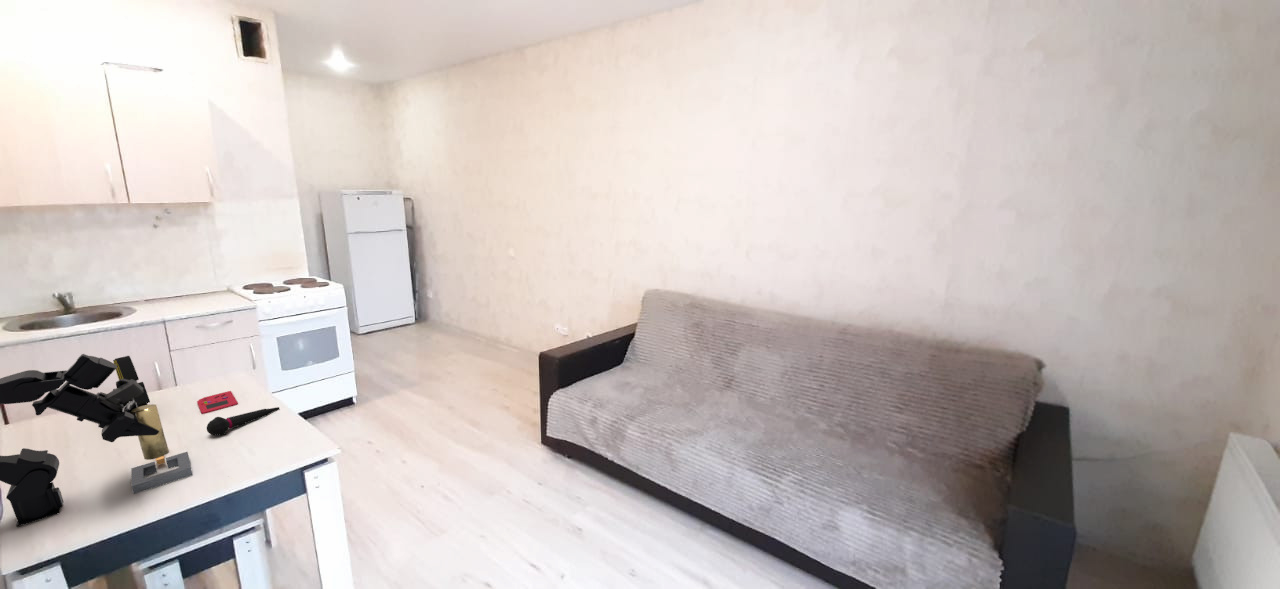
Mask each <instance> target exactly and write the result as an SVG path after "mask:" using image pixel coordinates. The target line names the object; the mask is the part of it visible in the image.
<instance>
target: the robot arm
mask: <svg viewBox="0 0 1280 589" xmlns="http://www.w3.org/2000/svg"><path fill="white" fill-rule="evenodd" d="M116 368H117V366H116V365H115V364H114V362H113V361H112V362H111V361H110V360H107V359H105V358H103V357H97V356H93V355H87V354H85V353H81V354H80V355H79V357H78V358H77V359H76V361H75V362H74V363H73V364H72V365H71V366H70V367H69V368H68V369H67V370H57V371H46V372H42V371H40V370H38V369H36V370H35V369H30V370H29V369H28V370H24V371H21V372H17V373H13V374H11V375H6V376H4V377H3V376H2V377H0V405H12V404H21V403H22V404H24V403H31V402H32V404H31V406H32V407H33V409H34V411H35V415H36V416H40V415H42V414H43V413H44V412H45V411H46V409H50V410H51V409H52V410H55V411H57V412H61V413H63V414H67V415H70V416H73V417H75V418H76V421H79V422H83V421H85V420H86V421H87V422H90V423H91V422H92V423H94V424H96V425H97V424H98V425H97V426H98V428H100V429H101V438H102V440H103V441H107V442H110V443H114V442H115V441H116V440H117V439H118V438H125V437H138V436H146V435H157V434H158V433H159V430H157V429H155V428H153V427H151V426H149V425H147V424H145V423H143V422H141V421H140V420H138V417H137V413H136V412H135V413H134V414H133V415H132V413H131V411H132V410H133V409H135V408H137V403H136V402H134V403H133V404H132V405H131V406H128V405H127V403H128V402H129V401H133V400H134V397H138V396H140V395H141V394H142V393H143V392H144V391H143V389H144V388H143V387H141V386H140V385H139V384H138V383H139V382H138V380H137V381H135V380H132V379H131V380H127V379H123V378H122V379H120V380H119V379H118V380H117V381H115V386H116V388H113V389H112V390H111V391H110V392H108V393H105V392H101V391H100V392H97V393H93V392H90V391H87V390H92V389H98V388H99V387H100V386H101V385H103V383H104V382H105V381H106V380H107V379H108V378H109V377H110V376H111V374H112V373H114V372H115V371H116ZM44 395H45V396H44ZM43 396H44V397H43ZM42 397H43V398H42ZM41 398H42V399H41ZM39 399H40V400H39ZM126 405H127V406H126ZM48 452H49V450H35V449H34V450H33V449H30V448H21V450H20V453H18V454H12V455H0V482H2V483H5V484H7V485H9V489H8V490H7V491H8V492H7V495H6V496H5V499H7V500H8V501H9V502H10V505H11V508H12V510H13V514H14V516H15V519H16V524H15V526H16V528H17V527H21V526H24V525H25V526H26V525H27V524H32V523H34V522H37V521H39V520H44V519H47V518H49V517H53V516H55V515H58V514H60V513H61V509H62V508H63V506H64V503H65V502H64V501H65V500H64V498H63V495H62V493H61V489H60V487H58V486H57V487H56V486H55V484H54V482H53V481H54V480H55V479H56V477H57V474H58V472H59V471H58V469H59V467H60V459H59V458H58V457H57V455H55V454H52V453H48Z"/></svg>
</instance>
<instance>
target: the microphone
mask: <svg viewBox="0 0 1280 589" xmlns="http://www.w3.org/2000/svg"><path fill="white" fill-rule="evenodd" d="M278 410H280V407H272V408H261V409H258V410H255V411H250V412H246V413H241V414H238V415H233V416H230V417H226V418H225V417H221V416H216V417H214V418H213V419H212V420H210V421H209V422H208V423H207V426H206V430H207V433H208V434H209V435H211V436H223V435H225V434H226V433H227V432H228V430H230V429H233V428H237V427H241V426H244V425H246V424H248V423H250V422H253V421H256V420H258V419H261V418H263V417H265V416H268V415H270V414H271V413H274V412H276V411H278Z"/></svg>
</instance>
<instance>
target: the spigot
mask: <svg viewBox="0 0 1280 589" xmlns="http://www.w3.org/2000/svg"><path fill="white" fill-rule="evenodd" d="M135 412H136V413H137V417H138V420H140V421H141V422H143V423H145V424H147V425H149V426H151V427H153V428H155V429H157V430H159V433H158V434H157V435H146V436H137V437H138V441H139V444H140V449H141V451H142V455H143V458H144V460H146V461H148V460H156V458H159V457H162V456H164V457H165V455H167V454H168V453H169V446H168V443H166V442H167V440H166V436H165V432H164V429H163V425H162V421H161V418H160V413H159V410H158V406H157V404H148V405H144V406H140V407H137V408H135V409H133V410H132V411H131V413H132V415H133V414H134V413H135ZM167 446H168V447H167Z"/></svg>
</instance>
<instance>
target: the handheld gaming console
mask: <svg viewBox="0 0 1280 589" xmlns="http://www.w3.org/2000/svg"><path fill="white" fill-rule="evenodd" d="M196 402H197V407H198V409H199V412H200V413H201V415H205V414H210V413H213V412H215V411H217V412H218V411H221V410H224V409H227V408H232V407H234V406H237V405H239V403H238V401H237V399H236V397H235V395H234V394H233V392H232V391H231V390H228V391H224V392H221V393H217V394H212V395H209V396H204V397H202V398H200V399H198V400H197V401H196Z"/></svg>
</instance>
